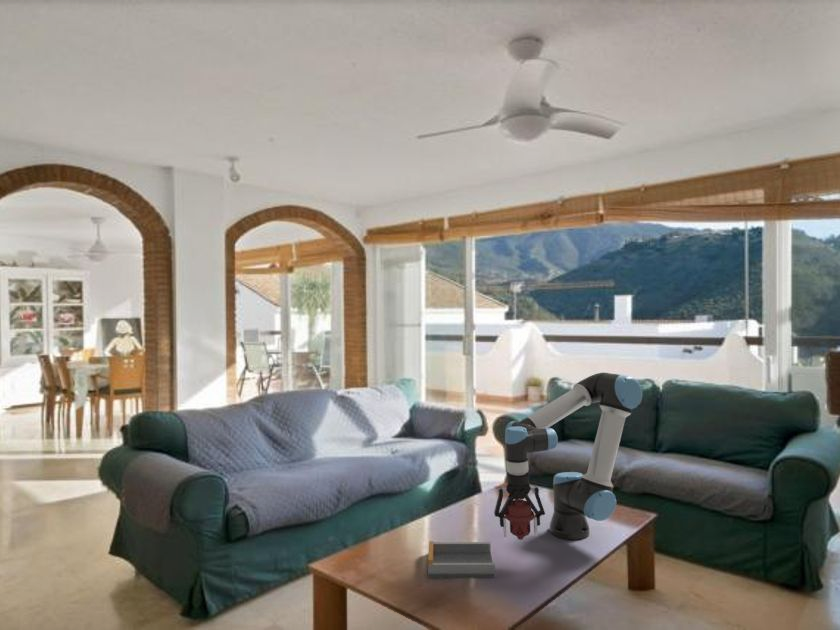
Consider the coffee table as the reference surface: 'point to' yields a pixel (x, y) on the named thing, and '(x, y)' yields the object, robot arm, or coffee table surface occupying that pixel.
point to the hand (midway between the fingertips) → (520, 535)
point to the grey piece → (460, 560)
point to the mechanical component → (519, 518)
